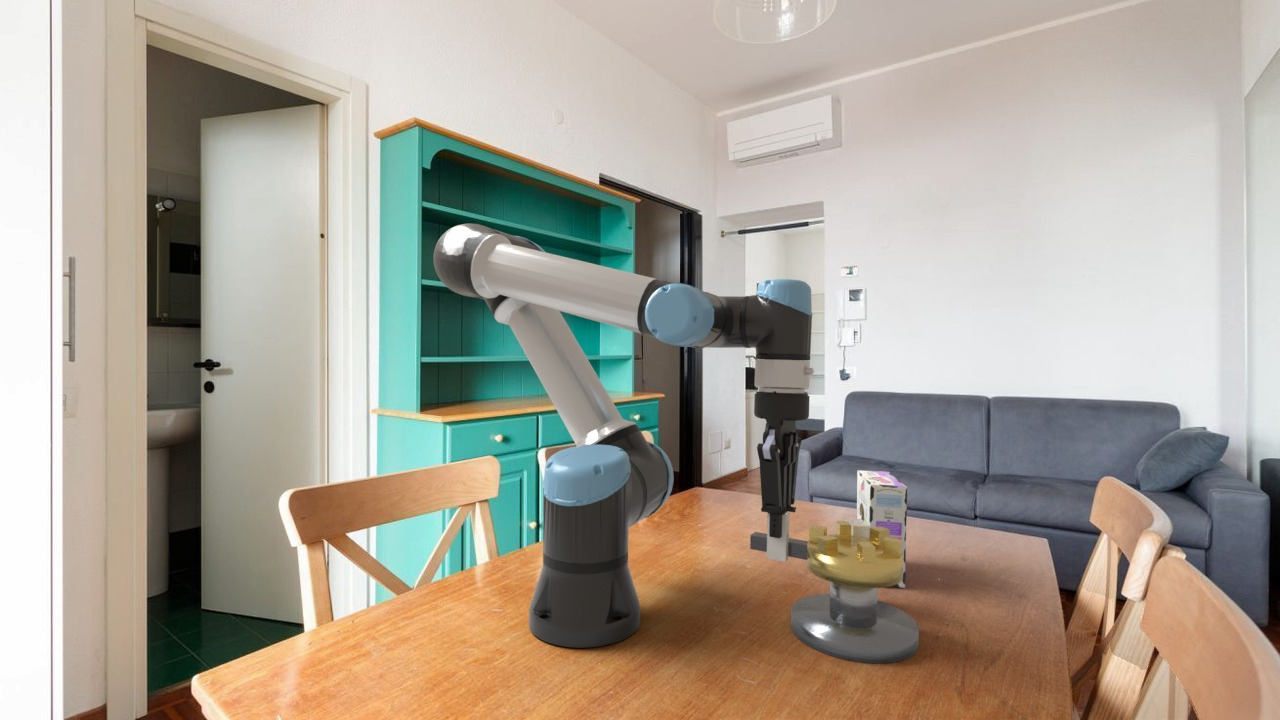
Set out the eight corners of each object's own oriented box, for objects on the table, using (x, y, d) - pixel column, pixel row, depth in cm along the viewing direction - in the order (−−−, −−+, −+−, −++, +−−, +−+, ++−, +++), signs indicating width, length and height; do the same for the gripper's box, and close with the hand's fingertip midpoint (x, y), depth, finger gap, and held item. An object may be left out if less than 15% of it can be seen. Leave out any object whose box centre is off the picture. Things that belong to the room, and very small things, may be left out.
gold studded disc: (736, 562, 82) (736, 525, 82) (767, 540, 92) (767, 507, 92) (893, 595, 71) (894, 554, 71) (909, 566, 81) (910, 530, 81)
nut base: (807, 661, 72) (809, 562, 72) (774, 594, 92) (775, 517, 92) (941, 665, 71) (943, 565, 71) (879, 597, 91) (880, 519, 91)
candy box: (906, 589, 95) (908, 486, 95) (867, 586, 96) (869, 484, 96) (888, 560, 108) (890, 470, 108) (854, 557, 110) (856, 468, 109)
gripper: (795, 393, 76) (790, 577, 76) (820, 391, 87) (815, 552, 87) (740, 390, 80) (735, 566, 80) (770, 388, 91) (766, 543, 91)
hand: (777, 558), depth 83 cm, fingers closed
